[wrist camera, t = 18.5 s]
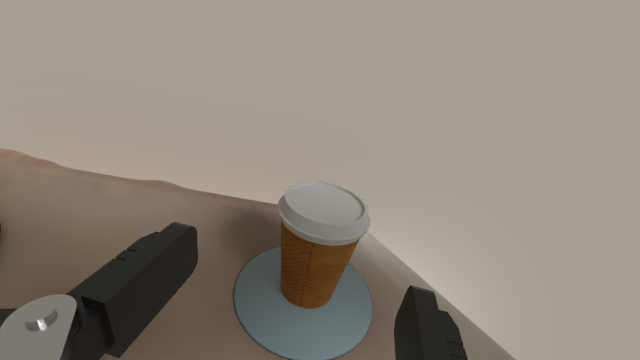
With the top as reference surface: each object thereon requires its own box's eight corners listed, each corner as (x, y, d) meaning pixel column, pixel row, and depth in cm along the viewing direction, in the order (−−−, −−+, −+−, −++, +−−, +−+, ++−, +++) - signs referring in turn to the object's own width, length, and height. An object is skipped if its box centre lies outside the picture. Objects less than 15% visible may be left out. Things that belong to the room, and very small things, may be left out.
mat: (387, 283, 36) (388, 282, 36) (336, 401, 22) (337, 399, 22) (288, 232, 41) (288, 230, 41) (200, 301, 28) (200, 299, 28)
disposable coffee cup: (303, 248, 38) (319, 172, 33) (360, 289, 33) (389, 206, 28) (248, 283, 31) (258, 192, 26) (311, 341, 26) (338, 243, 21)
